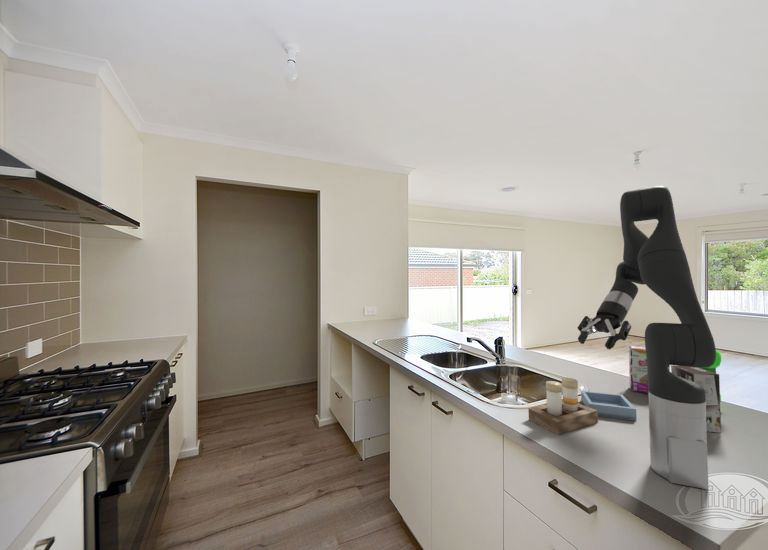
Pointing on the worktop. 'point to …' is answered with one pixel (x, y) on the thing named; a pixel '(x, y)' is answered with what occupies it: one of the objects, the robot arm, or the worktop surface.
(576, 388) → the cylinder
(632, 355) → the candy bar box
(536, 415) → the fuse holder
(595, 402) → the tray
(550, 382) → the cylinder
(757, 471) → the worktop surface
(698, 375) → the coffee box
